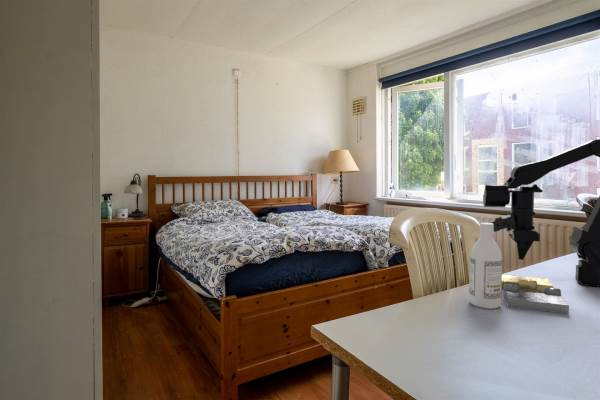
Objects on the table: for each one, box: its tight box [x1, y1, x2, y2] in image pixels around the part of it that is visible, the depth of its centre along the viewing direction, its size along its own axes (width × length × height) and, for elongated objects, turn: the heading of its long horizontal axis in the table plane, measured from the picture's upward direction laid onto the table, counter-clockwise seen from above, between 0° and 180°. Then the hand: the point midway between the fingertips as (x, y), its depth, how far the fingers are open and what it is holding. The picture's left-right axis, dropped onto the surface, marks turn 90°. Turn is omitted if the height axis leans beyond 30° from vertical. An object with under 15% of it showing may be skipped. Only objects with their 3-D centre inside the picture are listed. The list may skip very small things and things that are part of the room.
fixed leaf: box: [503, 284, 570, 315], centre depth 89 cm, size 12×9×3 cm
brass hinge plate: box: [502, 274, 554, 293], centre depth 101 cm, size 12×9×3 cm
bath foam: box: [468, 222, 503, 310], centre depth 89 cm, size 7×7×20 cm
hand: (520, 259), depth 109 cm, fingers closed
